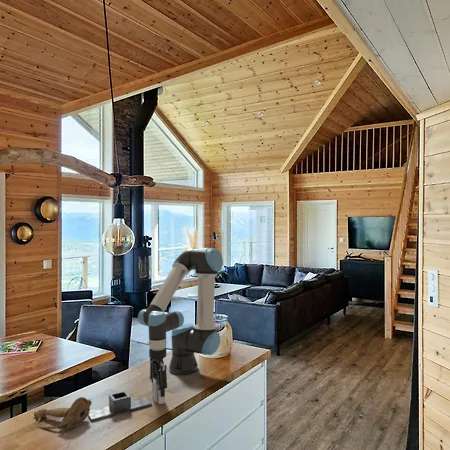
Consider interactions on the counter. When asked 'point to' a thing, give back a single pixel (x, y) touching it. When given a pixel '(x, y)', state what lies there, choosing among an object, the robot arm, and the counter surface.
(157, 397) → the beige rectangular block
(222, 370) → the counter surface
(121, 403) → the square socket bracket
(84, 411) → the sword hilt
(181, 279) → the robot arm
